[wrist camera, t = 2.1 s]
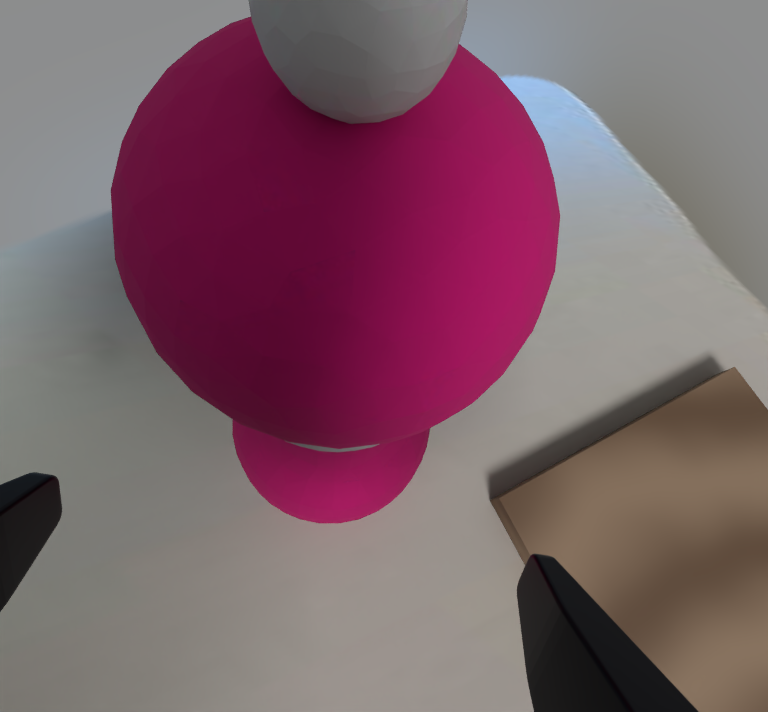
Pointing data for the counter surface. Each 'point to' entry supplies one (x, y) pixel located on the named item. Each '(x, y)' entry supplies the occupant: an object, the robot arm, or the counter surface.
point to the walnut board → (669, 537)
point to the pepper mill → (335, 238)
